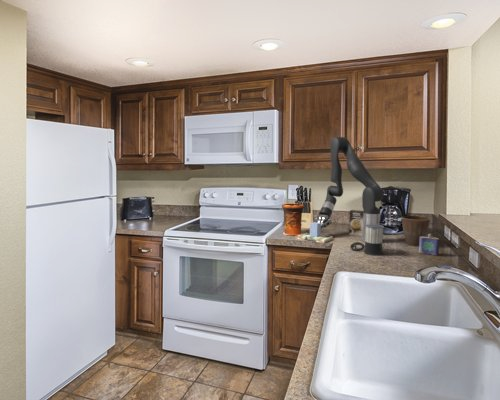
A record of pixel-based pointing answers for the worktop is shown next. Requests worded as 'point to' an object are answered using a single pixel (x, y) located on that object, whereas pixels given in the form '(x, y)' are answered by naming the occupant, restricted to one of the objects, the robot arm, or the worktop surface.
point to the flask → (429, 245)
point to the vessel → (292, 218)
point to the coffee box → (356, 222)
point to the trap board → (315, 238)
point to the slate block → (315, 229)
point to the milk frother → (371, 240)
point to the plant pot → (414, 228)
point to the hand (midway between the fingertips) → (317, 231)
